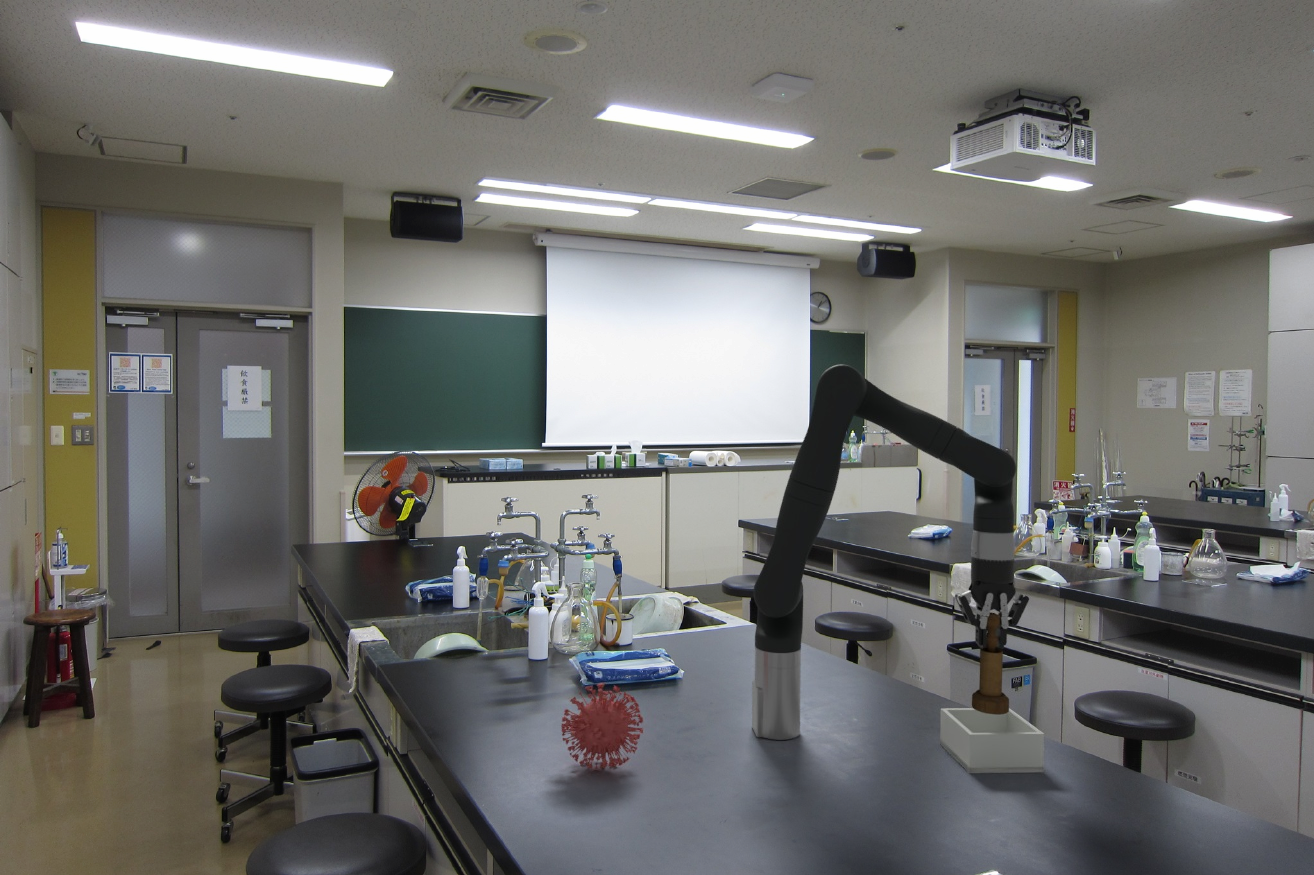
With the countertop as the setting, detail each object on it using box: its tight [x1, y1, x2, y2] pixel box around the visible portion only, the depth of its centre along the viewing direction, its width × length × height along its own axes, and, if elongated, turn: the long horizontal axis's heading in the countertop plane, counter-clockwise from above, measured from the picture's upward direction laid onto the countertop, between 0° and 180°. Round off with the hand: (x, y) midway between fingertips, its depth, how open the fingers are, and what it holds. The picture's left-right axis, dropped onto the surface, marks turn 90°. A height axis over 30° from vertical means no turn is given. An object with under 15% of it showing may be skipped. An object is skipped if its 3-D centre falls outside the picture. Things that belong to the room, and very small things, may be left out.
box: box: [939, 707, 1045, 774], centre depth 159 cm, size 14×14×7 cm
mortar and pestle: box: [971, 611, 1010, 715], centre depth 159 cm, size 7×6×18 cm
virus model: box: [560, 682, 644, 771], centre depth 153 cm, size 15×15×15 cm
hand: (990, 647), depth 159 cm, fingers closed on mortar and pestle, 2 cm apart
